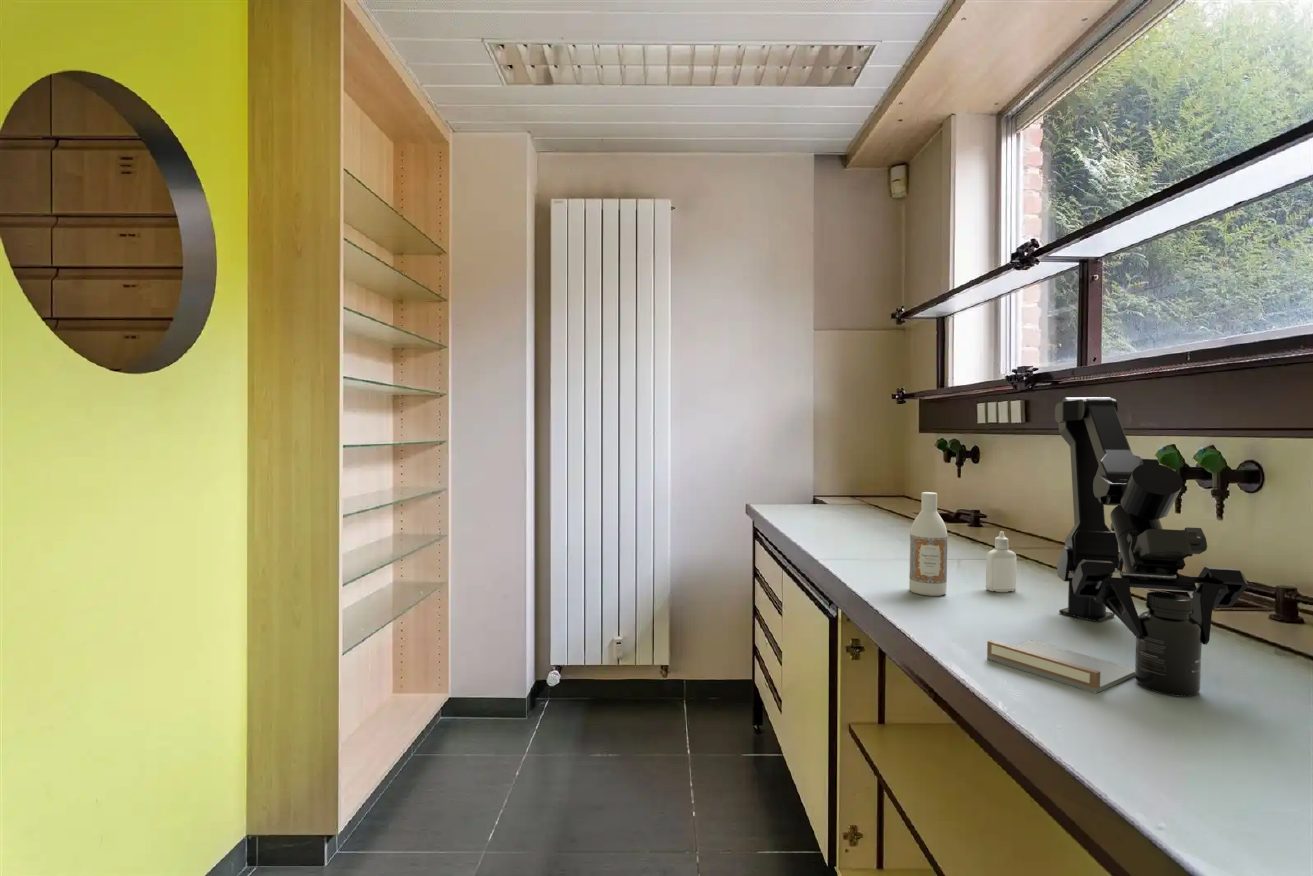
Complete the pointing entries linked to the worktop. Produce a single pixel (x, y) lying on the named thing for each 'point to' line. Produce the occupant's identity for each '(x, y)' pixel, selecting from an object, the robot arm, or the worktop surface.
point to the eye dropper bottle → (1001, 566)
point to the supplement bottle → (1169, 646)
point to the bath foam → (928, 550)
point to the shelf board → (1060, 665)
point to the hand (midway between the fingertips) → (1173, 640)
